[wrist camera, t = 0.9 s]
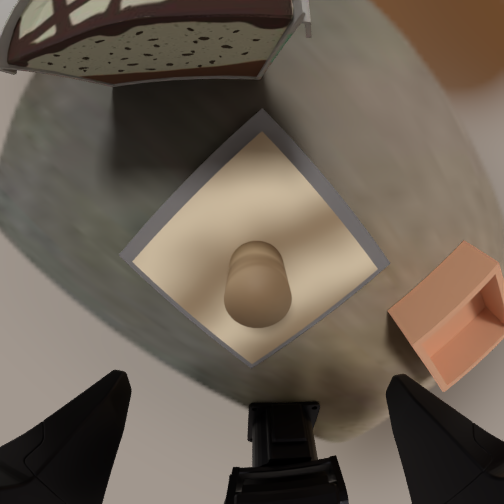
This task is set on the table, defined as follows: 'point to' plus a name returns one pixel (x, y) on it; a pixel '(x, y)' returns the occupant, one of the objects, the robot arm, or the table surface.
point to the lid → (256, 253)
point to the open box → (454, 314)
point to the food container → (148, 38)
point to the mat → (211, 167)
